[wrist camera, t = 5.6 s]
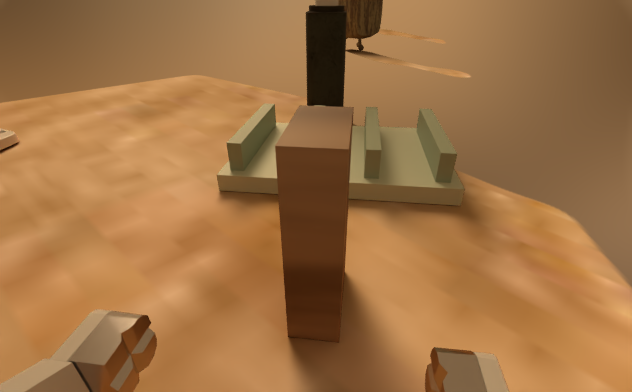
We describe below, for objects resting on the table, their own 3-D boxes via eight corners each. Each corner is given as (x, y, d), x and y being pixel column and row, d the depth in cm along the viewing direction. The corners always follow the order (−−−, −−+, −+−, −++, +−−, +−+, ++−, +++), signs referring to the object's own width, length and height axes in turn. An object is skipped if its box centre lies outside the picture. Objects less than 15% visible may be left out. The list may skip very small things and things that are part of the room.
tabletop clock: (357, 46, 114) (363, -45, 101) (380, 48, 108) (389, -47, 96) (329, 50, 104) (331, -49, 92) (353, 53, 99) (358, -52, 86)
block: (339, 342, 16) (348, 149, 11) (288, 336, 17) (274, 146, 11) (344, 270, 21) (353, 107, 15) (304, 267, 21) (299, 105, 16)
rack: (460, 205, 27) (472, 159, 25) (219, 190, 29) (212, 146, 27) (431, 141, 39) (437, 106, 37) (262, 134, 41) (259, 100, 39)
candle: (310, 104, 52) (308, -109, 39) (343, 105, 52) (351, -110, 39) (306, 114, 48) (302, -122, 35) (342, 115, 47) (351, -124, 35)
